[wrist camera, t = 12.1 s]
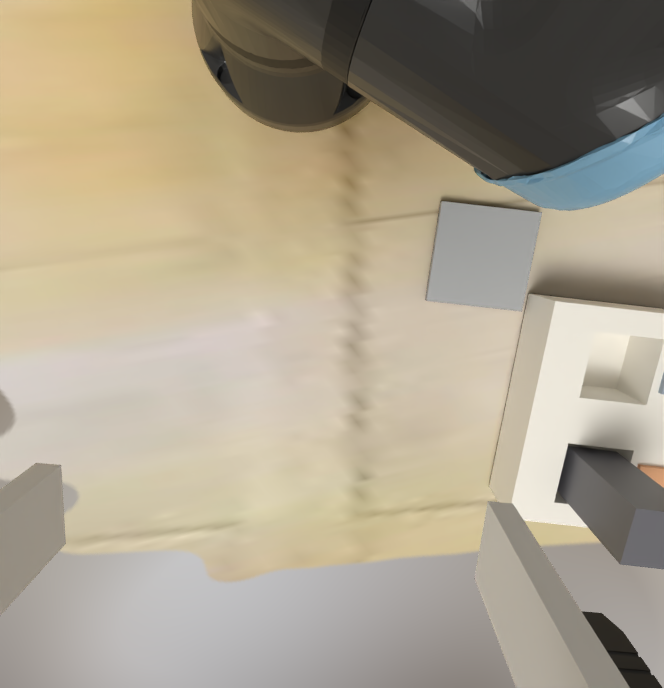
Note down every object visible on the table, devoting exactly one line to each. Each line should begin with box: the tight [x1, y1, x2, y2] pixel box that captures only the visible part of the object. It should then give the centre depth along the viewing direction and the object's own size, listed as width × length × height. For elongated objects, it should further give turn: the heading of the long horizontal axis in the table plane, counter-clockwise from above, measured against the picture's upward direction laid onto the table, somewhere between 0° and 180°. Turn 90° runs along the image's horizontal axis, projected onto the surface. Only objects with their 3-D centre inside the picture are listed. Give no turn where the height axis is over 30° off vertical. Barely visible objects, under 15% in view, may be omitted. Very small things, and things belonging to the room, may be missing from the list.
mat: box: [425, 201, 542, 312], centre depth 38 cm, size 8×8×1 cm
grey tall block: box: [557, 443, 664, 569], centre depth 35 cm, size 4×4×12 cm
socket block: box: [489, 294, 664, 527], centre depth 38 cm, size 18×12×5 cm, turn 174°
